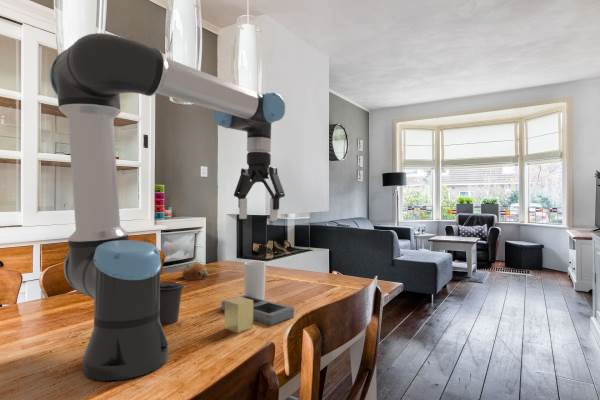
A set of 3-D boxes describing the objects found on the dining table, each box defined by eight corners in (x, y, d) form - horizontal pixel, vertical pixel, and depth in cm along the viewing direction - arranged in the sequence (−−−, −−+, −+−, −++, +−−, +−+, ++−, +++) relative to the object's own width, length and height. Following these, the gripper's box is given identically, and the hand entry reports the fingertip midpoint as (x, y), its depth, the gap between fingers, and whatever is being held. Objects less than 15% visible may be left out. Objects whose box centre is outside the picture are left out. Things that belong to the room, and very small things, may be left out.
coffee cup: (165, 328, 89) (165, 288, 89) (143, 323, 93) (144, 284, 93) (189, 319, 96) (190, 282, 96) (168, 314, 100) (169, 278, 100)
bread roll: (203, 283, 153) (199, 265, 156) (214, 276, 146) (210, 257, 149) (181, 287, 146) (177, 268, 149) (191, 280, 140) (187, 260, 142)
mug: (258, 305, 110) (259, 265, 110) (239, 302, 113) (240, 264, 113) (273, 297, 119) (273, 261, 119) (255, 294, 122) (256, 259, 122)
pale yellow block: (237, 333, 87) (238, 304, 87) (224, 328, 90) (224, 300, 90) (253, 327, 91) (253, 300, 91) (239, 323, 94) (240, 296, 94)
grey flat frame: (271, 325, 92) (271, 315, 92) (221, 309, 105) (221, 301, 105) (293, 317, 99) (293, 307, 99) (244, 303, 112) (244, 295, 112)
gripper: (296, 151, 109) (295, 221, 109) (240, 156, 125) (239, 217, 125) (280, 148, 103) (279, 221, 103) (223, 154, 119) (222, 218, 119)
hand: (257, 219), depth 114 cm, fingers open, 13 cm apart
